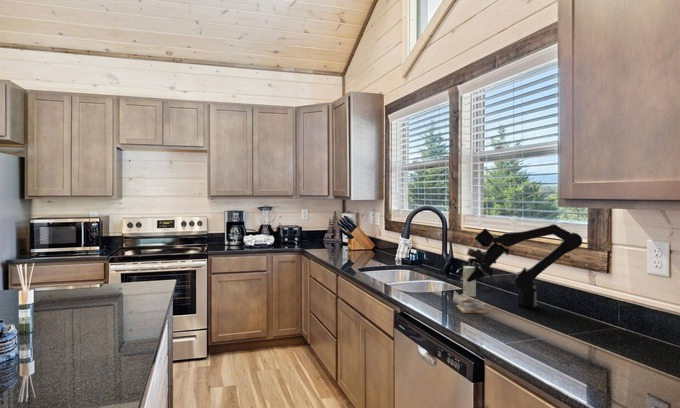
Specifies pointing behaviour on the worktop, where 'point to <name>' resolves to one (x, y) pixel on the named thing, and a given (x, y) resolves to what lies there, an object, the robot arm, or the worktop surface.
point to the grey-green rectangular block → (468, 287)
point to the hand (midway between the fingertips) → (466, 280)
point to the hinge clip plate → (471, 306)
